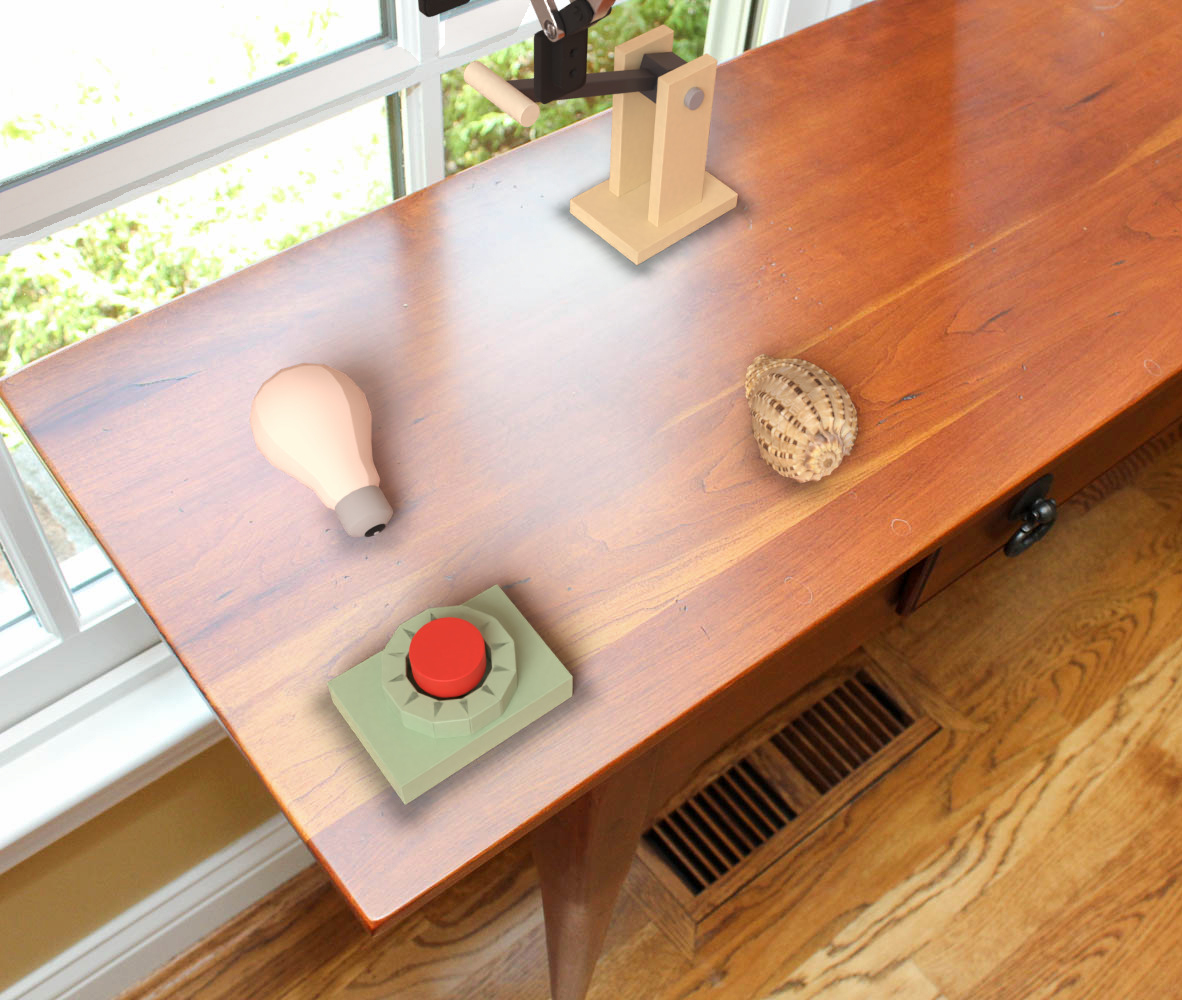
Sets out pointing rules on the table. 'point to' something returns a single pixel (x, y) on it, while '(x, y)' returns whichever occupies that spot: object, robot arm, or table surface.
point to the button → (447, 657)
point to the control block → (458, 724)
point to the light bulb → (323, 441)
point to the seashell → (799, 417)
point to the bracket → (657, 158)
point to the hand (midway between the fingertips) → (501, 49)
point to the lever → (522, 102)
